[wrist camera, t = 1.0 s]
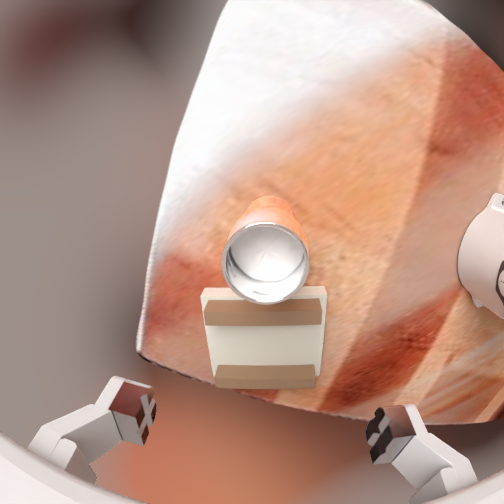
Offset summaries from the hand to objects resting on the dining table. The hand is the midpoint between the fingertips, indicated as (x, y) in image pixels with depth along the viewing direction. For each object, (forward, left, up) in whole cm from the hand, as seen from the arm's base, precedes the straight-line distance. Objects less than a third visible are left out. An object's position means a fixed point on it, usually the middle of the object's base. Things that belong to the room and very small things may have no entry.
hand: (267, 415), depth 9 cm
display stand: (+2, +16, -28) cm, 32 cm away
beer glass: (+1, 0, -28) cm, 28 cm away
